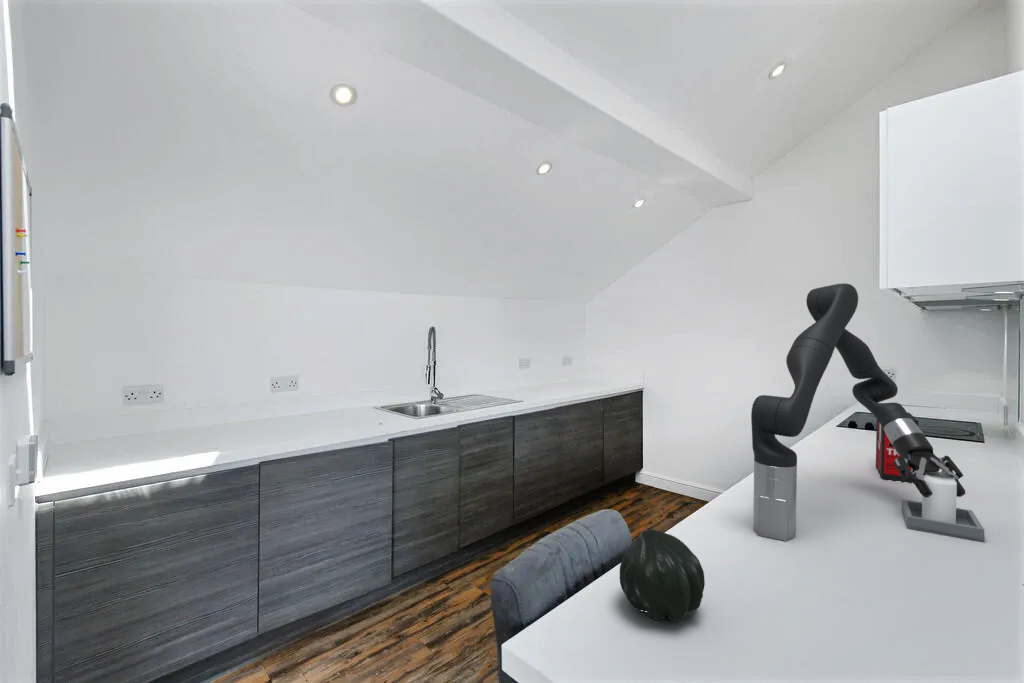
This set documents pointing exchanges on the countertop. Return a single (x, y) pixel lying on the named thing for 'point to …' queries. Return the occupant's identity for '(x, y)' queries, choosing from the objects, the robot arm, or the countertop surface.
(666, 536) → the squash
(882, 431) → the cleaning product box
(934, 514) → the can
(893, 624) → the countertop surface
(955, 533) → the tray
